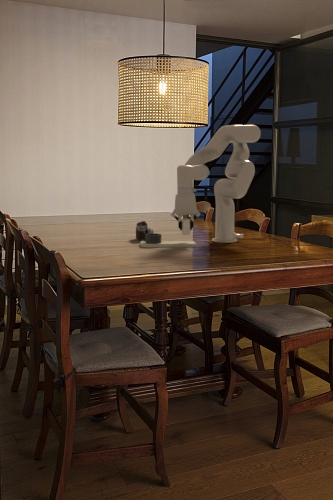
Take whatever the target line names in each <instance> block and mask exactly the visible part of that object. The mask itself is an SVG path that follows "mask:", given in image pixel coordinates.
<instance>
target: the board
mask: <svg viewBox="0 0 333 500" xmlns="http://www.w3.org/2000/svg"><path fill="white" fill-rule="evenodd" d="M140 247H141V248H197V243H196V242H195V241H194V240H171V241H170V240H165V241H163V240H161V243H159V244H148V243H145V241H141V242H140Z"/></svg>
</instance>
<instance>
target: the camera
mask: <svg viewBox="0 0 333 500" xmlns="http://www.w3.org/2000/svg"><path fill="white" fill-rule="evenodd" d="M150 233H154V229H153V228H150V227H149V226H148V223H147V222H146V220H142V221H139V222H137V223H136V227H135V239H136V241H137V242H139V243H141V241H145V234H150Z"/></svg>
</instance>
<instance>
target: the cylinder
mask: <svg viewBox="0 0 333 500" xmlns="http://www.w3.org/2000/svg"><path fill="white" fill-rule="evenodd" d="M190 220H191V218H181V222H182V230H180V231H181V235H185V236H189V235H191V234H192V232H191V231H192V230H191V227H190Z"/></svg>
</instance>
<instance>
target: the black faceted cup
mask: <svg viewBox="0 0 333 500" xmlns="http://www.w3.org/2000/svg"><path fill="white" fill-rule="evenodd" d="M161 241H162V233H156V232H153V233H150V234H145V243H148V244H159V243H161Z"/></svg>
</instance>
